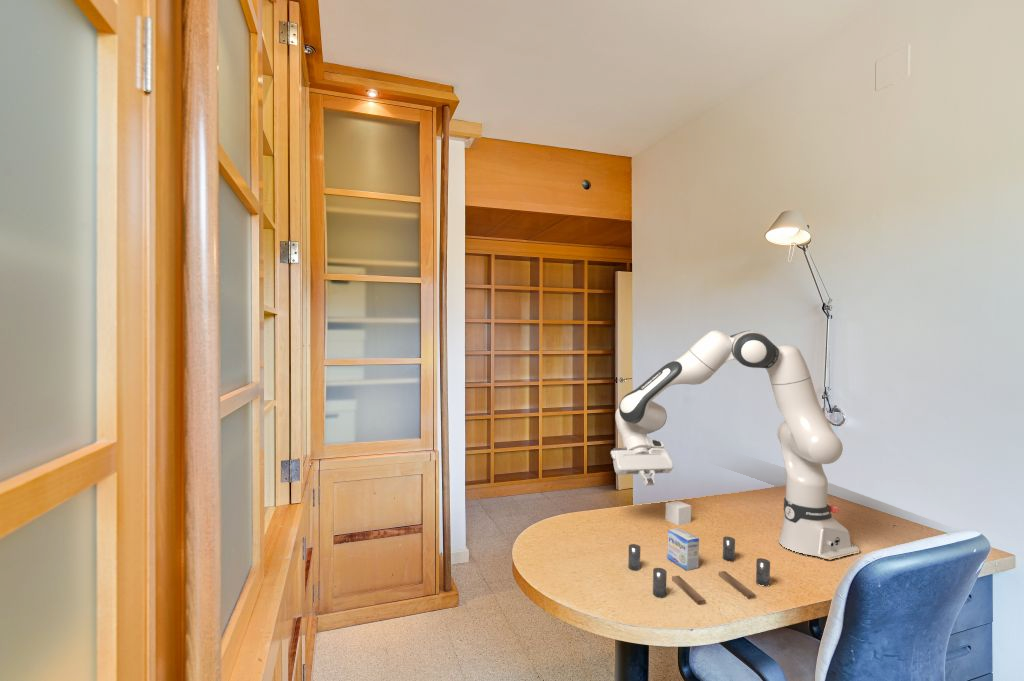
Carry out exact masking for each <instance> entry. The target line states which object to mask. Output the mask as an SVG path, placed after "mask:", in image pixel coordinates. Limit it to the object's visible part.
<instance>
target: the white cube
mask: <svg viewBox="0 0 1024 681" xmlns="http://www.w3.org/2000/svg"><path fill="white" fill-rule="evenodd" d="M691 519H692V505H690V504H688V503H685V502H682V501H681V500H674V501H669V502H665V520H666V521H668V522H670V523H672V524H674V525H676V526H682V525H687V524H690V523H691V522H692V520H691Z"/></svg>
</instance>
